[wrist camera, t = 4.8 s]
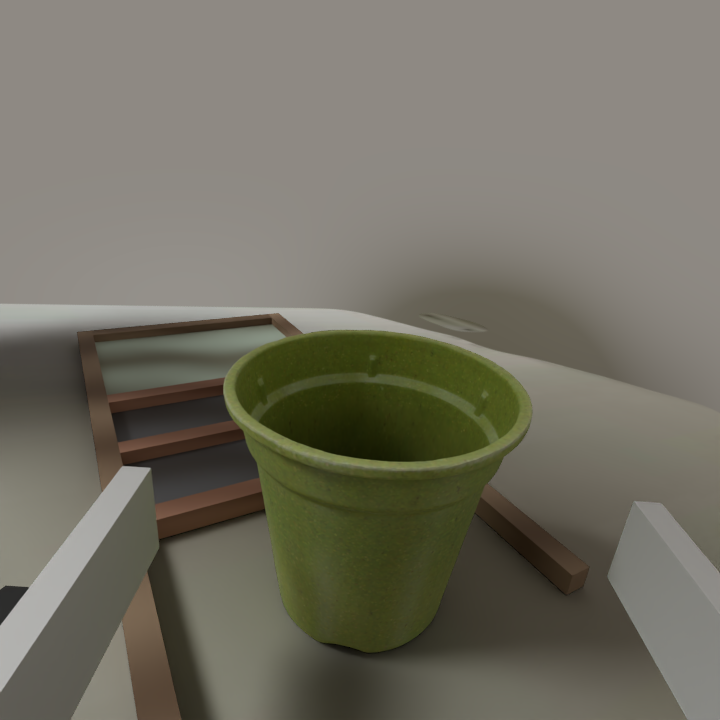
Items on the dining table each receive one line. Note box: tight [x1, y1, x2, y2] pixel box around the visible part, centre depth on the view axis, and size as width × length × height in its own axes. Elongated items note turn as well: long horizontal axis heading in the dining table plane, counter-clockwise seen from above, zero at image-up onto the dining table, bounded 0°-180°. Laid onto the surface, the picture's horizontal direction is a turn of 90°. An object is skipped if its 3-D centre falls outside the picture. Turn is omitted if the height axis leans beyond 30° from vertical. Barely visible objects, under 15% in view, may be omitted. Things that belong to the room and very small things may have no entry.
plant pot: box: [223, 330, 532, 653], centre depth 18 cm, size 9×9×9 cm
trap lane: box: [77, 313, 589, 720], centre depth 29 cm, size 33×16×1 cm, turn 30°
